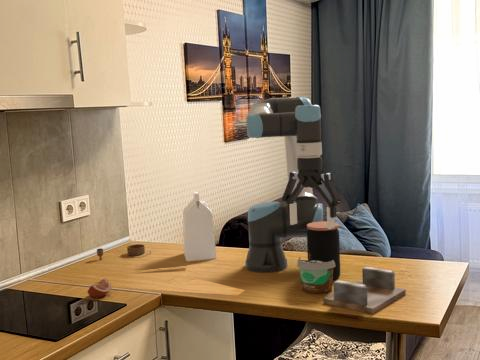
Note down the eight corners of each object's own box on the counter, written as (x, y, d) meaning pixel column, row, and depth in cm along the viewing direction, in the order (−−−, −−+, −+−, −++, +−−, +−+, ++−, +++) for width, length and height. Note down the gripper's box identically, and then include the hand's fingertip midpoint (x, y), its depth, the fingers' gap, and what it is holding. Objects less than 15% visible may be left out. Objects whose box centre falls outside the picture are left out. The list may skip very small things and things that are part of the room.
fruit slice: (98, 291, 193) (97, 277, 192) (116, 293, 191) (115, 278, 190) (83, 300, 185) (82, 284, 184) (102, 301, 183) (101, 285, 182)
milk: (183, 255, 234) (179, 191, 231) (212, 253, 236) (208, 189, 233) (186, 263, 223) (182, 195, 219) (216, 260, 225) (212, 193, 221)
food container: (291, 293, 181) (290, 261, 180) (299, 287, 187) (298, 256, 186) (329, 297, 176) (328, 265, 174) (336, 291, 181) (335, 259, 180)
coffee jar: (316, 271, 204) (314, 220, 201) (345, 274, 198) (343, 222, 196) (303, 279, 195) (301, 226, 192) (333, 283, 189) (331, 228, 187)
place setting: (146, 263, 228) (145, 248, 227) (96, 265, 229) (94, 250, 228) (155, 252, 245) (154, 238, 244) (107, 254, 246) (106, 240, 245)
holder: (323, 303, 171) (322, 280, 170) (358, 285, 186) (357, 264, 185) (372, 314, 160) (372, 289, 159) (405, 294, 175) (405, 271, 174)
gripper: (269, 157, 181) (272, 224, 184) (338, 158, 165) (340, 232, 168) (283, 154, 187) (286, 220, 190) (352, 156, 171) (354, 227, 173)
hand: (311, 226), depth 179 cm, fingers open, 13 cm apart
